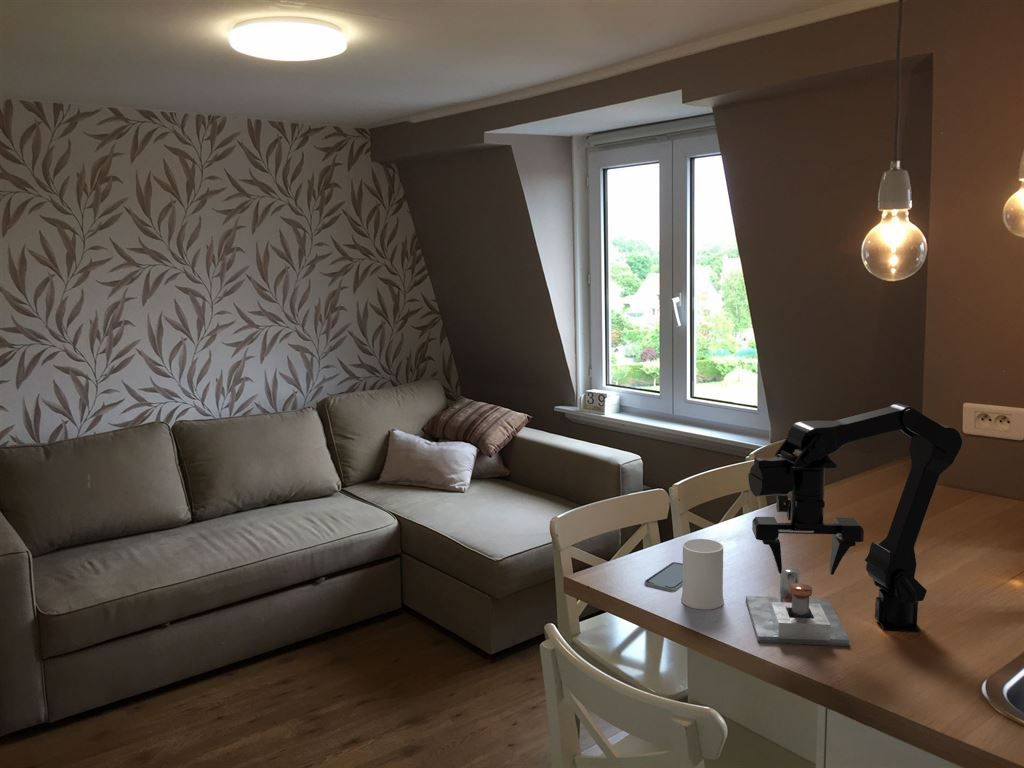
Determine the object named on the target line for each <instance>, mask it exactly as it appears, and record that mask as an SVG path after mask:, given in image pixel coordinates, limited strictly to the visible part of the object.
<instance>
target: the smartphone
mask: <svg viewBox="0 0 1024 768" xmlns="http://www.w3.org/2000/svg"><path fill="white" fill-rule="evenodd" d="M644 585H645V586H647V587H649V588H655V589H659V590H663V591H668V592H676V591H677V590H679V589H680V588H681V587H682V586H683V562H681V563H680V562H676V561H673V562H671V563H669V564H668V565H666V566H665V567H663V568H662V569H660V570H659V571H657V572H656V573H653V574H652V575H651V576H650V577H648V578H647V579H645V580H644Z"/></svg>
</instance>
